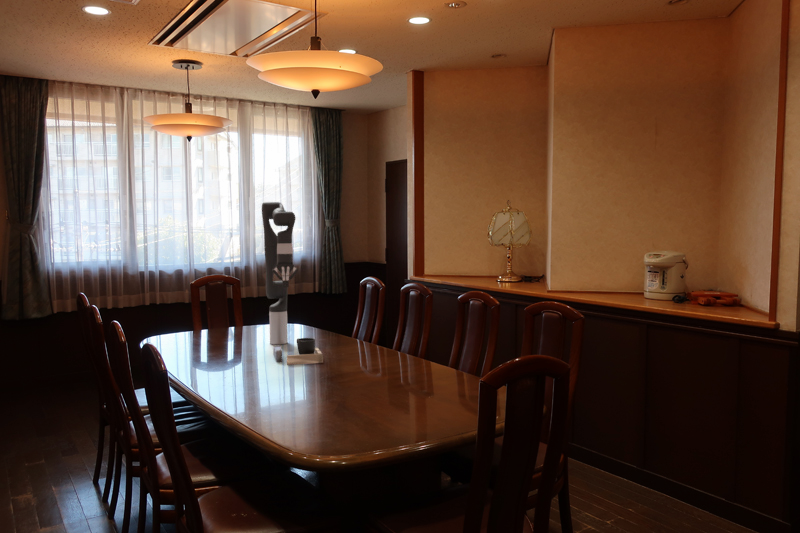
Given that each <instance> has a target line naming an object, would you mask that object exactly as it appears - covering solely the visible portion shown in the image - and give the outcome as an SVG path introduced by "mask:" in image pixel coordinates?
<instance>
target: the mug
mask: <svg viewBox="0 0 800 533" xmlns="http://www.w3.org/2000/svg"><path fill="white" fill-rule="evenodd" d="M296 345H297V351H298V355H302V354H315V348H316V338H314V337H302V338H301V337H300V338H297V339H296Z"/></svg>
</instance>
